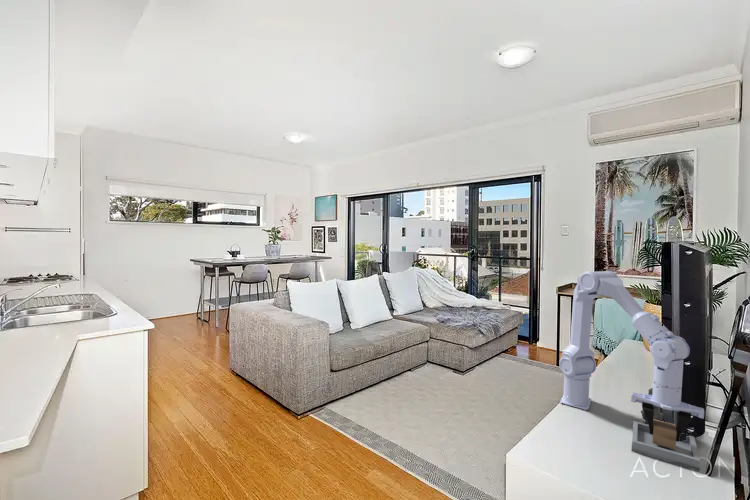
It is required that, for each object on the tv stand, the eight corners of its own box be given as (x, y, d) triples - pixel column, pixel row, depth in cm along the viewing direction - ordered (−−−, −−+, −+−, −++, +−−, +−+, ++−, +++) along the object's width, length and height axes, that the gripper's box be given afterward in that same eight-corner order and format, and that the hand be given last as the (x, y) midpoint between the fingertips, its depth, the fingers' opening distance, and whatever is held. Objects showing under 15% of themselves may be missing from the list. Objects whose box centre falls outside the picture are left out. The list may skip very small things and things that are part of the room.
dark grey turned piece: (654, 433, 103) (657, 390, 102) (634, 422, 108) (637, 382, 108) (670, 430, 104) (673, 389, 103) (650, 420, 110) (652, 380, 109)
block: (652, 435, 98) (653, 418, 98) (674, 441, 96) (675, 424, 95) (652, 443, 95) (653, 425, 94) (675, 449, 92) (676, 431, 92)
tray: (632, 429, 104) (633, 420, 104) (693, 446, 97) (694, 436, 97) (631, 450, 94) (632, 441, 94) (699, 471, 86) (700, 460, 86)
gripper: (632, 381, 95) (629, 433, 96) (707, 397, 87) (703, 454, 88) (632, 373, 101) (629, 422, 102) (703, 387, 93) (699, 440, 93)
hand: (663, 436), depth 95 cm, fingers closed on block, 4 cm apart
